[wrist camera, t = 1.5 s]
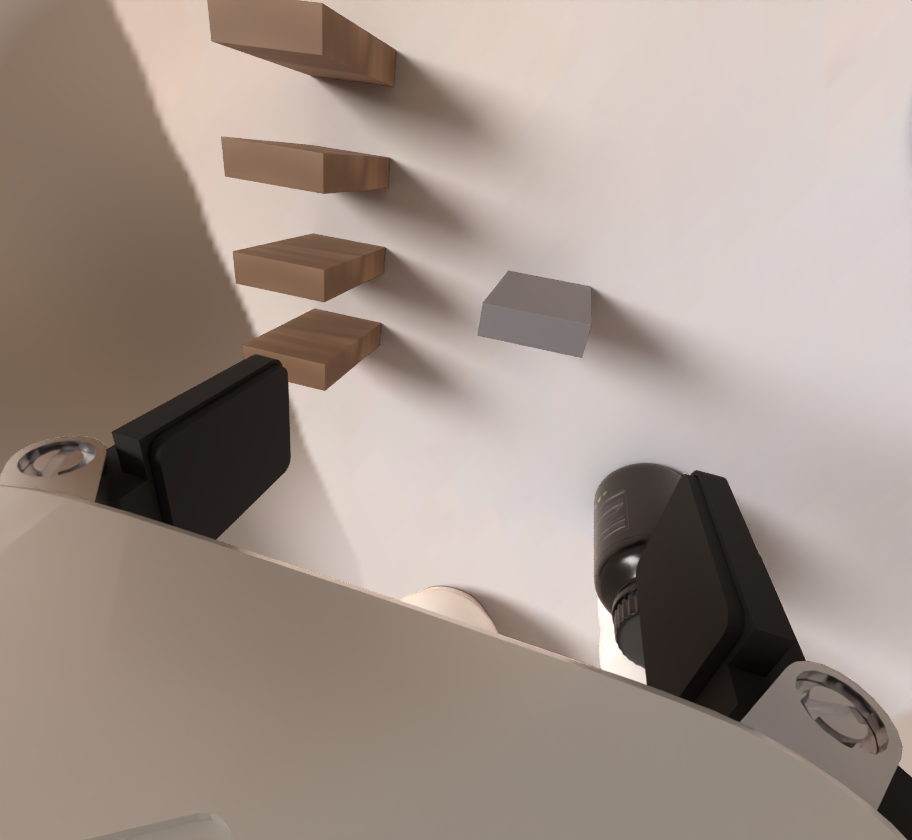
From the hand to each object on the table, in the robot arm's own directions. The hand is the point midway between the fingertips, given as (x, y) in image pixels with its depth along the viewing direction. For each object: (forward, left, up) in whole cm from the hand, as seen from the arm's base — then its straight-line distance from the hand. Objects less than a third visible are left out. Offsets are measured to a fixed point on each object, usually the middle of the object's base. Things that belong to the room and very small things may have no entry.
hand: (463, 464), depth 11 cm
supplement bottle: (-10, +13, -21) cm, 27 cm away
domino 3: (+13, 0, -20) cm, 24 cm away
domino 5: (0, 0, -20) cm, 20 cm away
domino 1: (+13, -10, -20) cm, 26 cm away
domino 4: (+13, +5, -20) cm, 24 cm away
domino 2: (+13, -5, -20) cm, 24 cm away
